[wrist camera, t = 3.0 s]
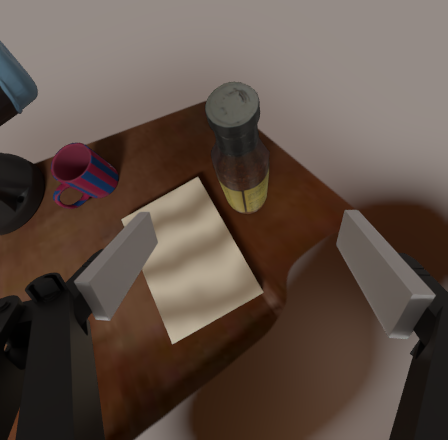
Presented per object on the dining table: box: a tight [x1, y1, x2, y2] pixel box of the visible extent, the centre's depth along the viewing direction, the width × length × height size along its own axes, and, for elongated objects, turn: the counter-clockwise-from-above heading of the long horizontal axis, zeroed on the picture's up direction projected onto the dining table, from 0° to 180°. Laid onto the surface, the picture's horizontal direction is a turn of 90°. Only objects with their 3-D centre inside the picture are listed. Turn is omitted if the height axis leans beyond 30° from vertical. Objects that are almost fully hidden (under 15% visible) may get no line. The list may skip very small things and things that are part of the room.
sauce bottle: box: [205, 82, 269, 214], centre depth 25 cm, size 6×6×20 cm
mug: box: [51, 143, 118, 209], centre depth 35 cm, size 7×10×7 cm
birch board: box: [121, 177, 263, 344], centre depth 32 cm, size 20×14×2 cm
